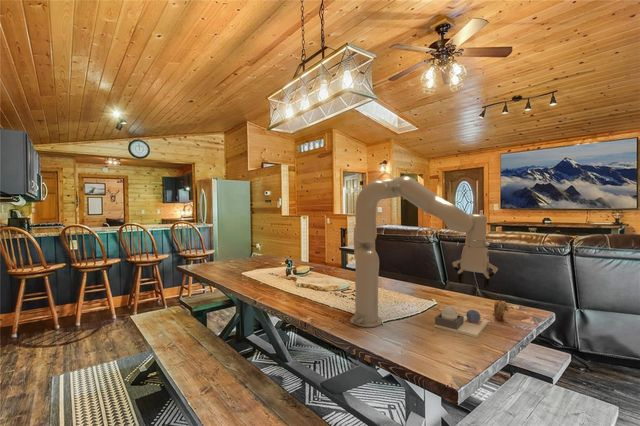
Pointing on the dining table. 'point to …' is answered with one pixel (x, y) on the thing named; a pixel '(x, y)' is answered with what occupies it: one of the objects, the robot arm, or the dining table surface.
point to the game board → (460, 325)
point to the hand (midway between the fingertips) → (473, 285)
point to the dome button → (449, 313)
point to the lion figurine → (500, 309)
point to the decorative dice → (473, 316)
